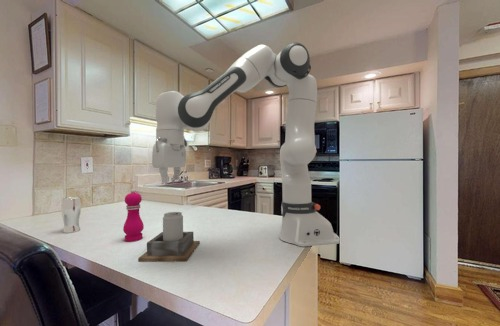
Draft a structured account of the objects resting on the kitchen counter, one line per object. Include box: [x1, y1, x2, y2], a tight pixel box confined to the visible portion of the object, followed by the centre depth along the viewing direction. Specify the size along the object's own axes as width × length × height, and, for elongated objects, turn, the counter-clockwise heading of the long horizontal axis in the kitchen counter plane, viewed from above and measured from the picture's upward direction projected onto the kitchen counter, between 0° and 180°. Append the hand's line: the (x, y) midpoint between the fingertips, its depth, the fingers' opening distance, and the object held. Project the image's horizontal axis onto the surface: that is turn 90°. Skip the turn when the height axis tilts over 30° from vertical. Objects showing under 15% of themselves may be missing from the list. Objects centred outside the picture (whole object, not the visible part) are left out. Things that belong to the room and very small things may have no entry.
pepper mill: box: [122, 188, 145, 243], centre depth 88 cm, size 7×7×20 cm
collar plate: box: [137, 231, 201, 263], centre depth 74 cm, size 15×15×5 cm
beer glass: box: [60, 196, 82, 234], centre depth 100 cm, size 7×7×15 cm
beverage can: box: [162, 211, 184, 241], centre depth 74 cm, size 6×6×12 cm
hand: (171, 181), depth 74 cm, fingers open, 8 cm apart
